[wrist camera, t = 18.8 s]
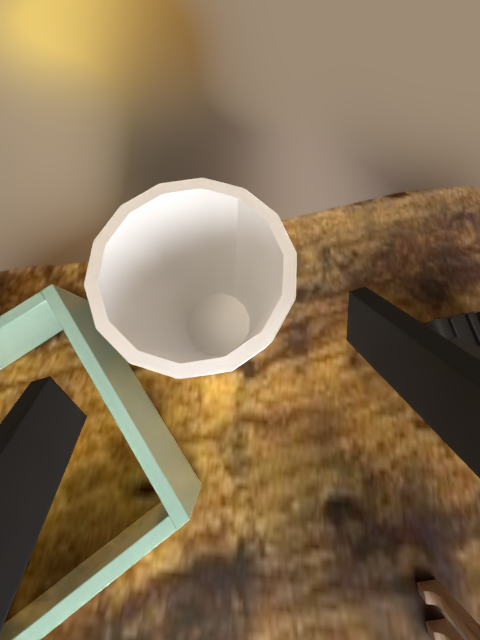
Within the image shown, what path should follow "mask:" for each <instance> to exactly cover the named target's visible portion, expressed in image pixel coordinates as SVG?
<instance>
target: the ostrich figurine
mask: <svg viewBox="0 0 480 640" xmlns="http://www.w3.org/2000/svg"><path fill="white" fill-rule="evenodd" d="M417 587H418V591H419V595H420V596H421V597H422V599H423V600H424V601H425V602H426V604H433V605H436V606H438V607H440V608H442V609H443V610H444V611H445V612H446V613H447V614H448V615H449V616H450V618H451V619H452V620H453V621H454V622H455V624H456V625H457V626H458V627H459V628H460V629H461V631H462V632H463V633H464V634H465V635H466V637H467V638H468V639H469V640H480V625H479V624H478V623H477V622H476V621H475V620H474V619H473V618H472V617H471V616H470V615H469V613H468V612H467V611H466V610H465V609H464V608H463V607H462V606H461V605H460V604H459V603H458V602H457V601H456V600H455V599H454V597H453V596H452V595H451V594H450V593H449V592H448V591H447V590H446V589H445V588H444V587H443V586H442V585H441V583H440V582H439V581H438V580H437V579H435V580H429V581H422V582H417ZM426 626H427V630H428V634H429V636H430V637H431V639H432V640H464V639H463V638H462V637H461V636H460V634H459V633H458V632H457V631H456V630H455V628H454V627H453V626H452V625H451V623H450V622H449V621H448V620H447V619H446V618H445V619H438V620H431V621H426Z"/></svg>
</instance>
